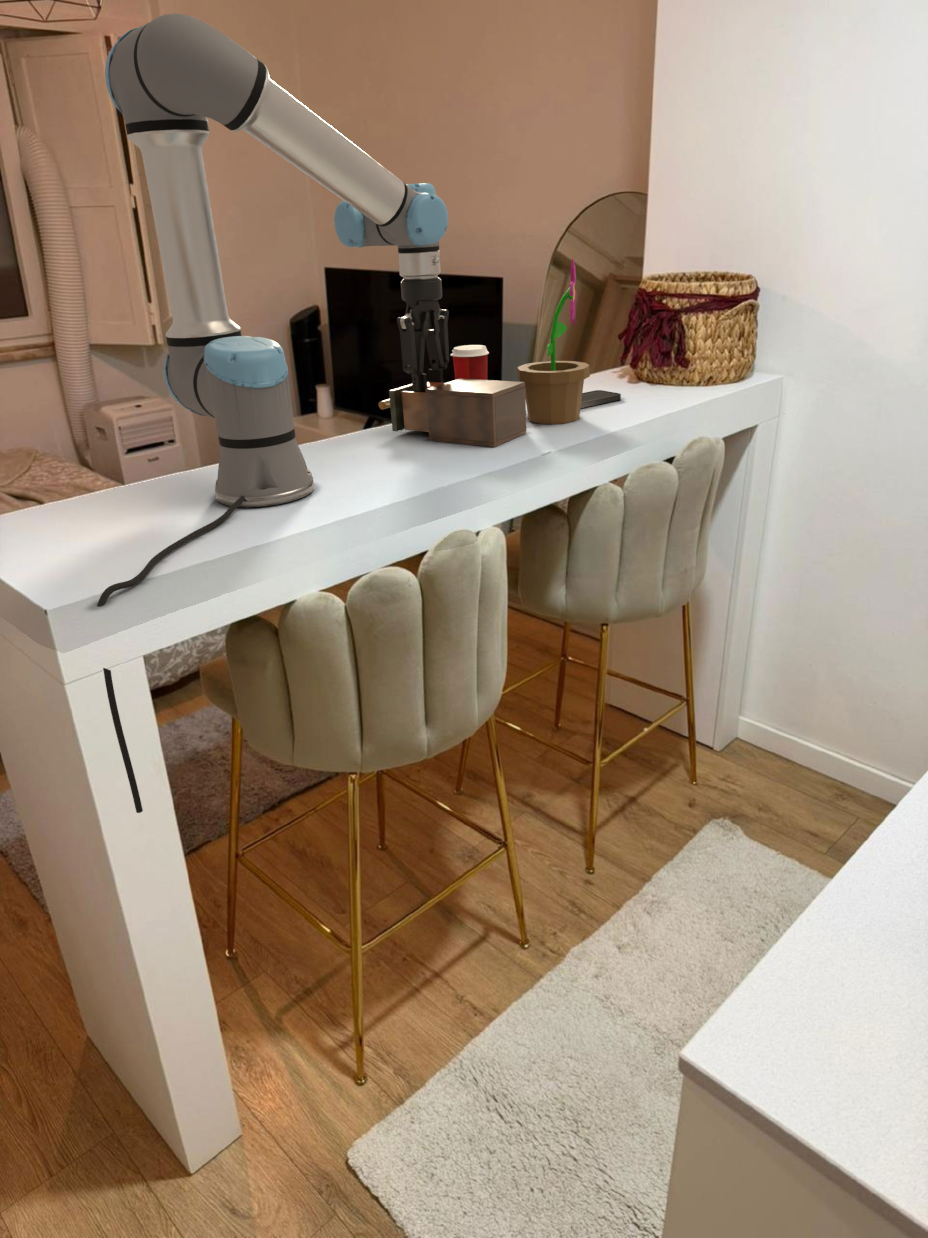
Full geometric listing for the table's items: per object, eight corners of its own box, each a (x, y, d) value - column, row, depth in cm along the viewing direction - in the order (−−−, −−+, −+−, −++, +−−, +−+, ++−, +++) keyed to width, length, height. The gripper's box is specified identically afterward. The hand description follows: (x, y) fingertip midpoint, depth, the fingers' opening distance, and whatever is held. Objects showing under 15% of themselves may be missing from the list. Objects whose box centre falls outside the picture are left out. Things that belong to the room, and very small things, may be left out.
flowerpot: (587, 425, 172) (588, 259, 159) (514, 426, 174) (509, 262, 162) (591, 410, 184) (592, 254, 172) (522, 411, 187) (519, 258, 174)
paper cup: (492, 411, 188) (490, 343, 182) (490, 419, 181) (487, 348, 176) (456, 413, 189) (452, 345, 183) (452, 420, 182) (447, 350, 176)
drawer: (375, 429, 175) (371, 389, 172) (406, 418, 183) (403, 379, 179) (449, 436, 166) (446, 394, 162) (479, 424, 173) (477, 384, 170)
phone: (623, 393, 192) (571, 404, 184) (623, 399, 193) (571, 410, 185) (598, 389, 198) (546, 399, 190) (597, 394, 198) (546, 405, 191)
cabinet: (429, 440, 168) (425, 388, 164) (463, 427, 176) (460, 377, 172) (494, 447, 160) (492, 393, 156) (526, 433, 169) (525, 381, 165)
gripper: (408, 281, 154) (418, 416, 163) (464, 272, 167) (470, 398, 176) (374, 281, 158) (386, 413, 167) (431, 273, 171) (439, 396, 180)
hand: (429, 405), depth 172 cm, fingers closed on block, 4 cm apart
